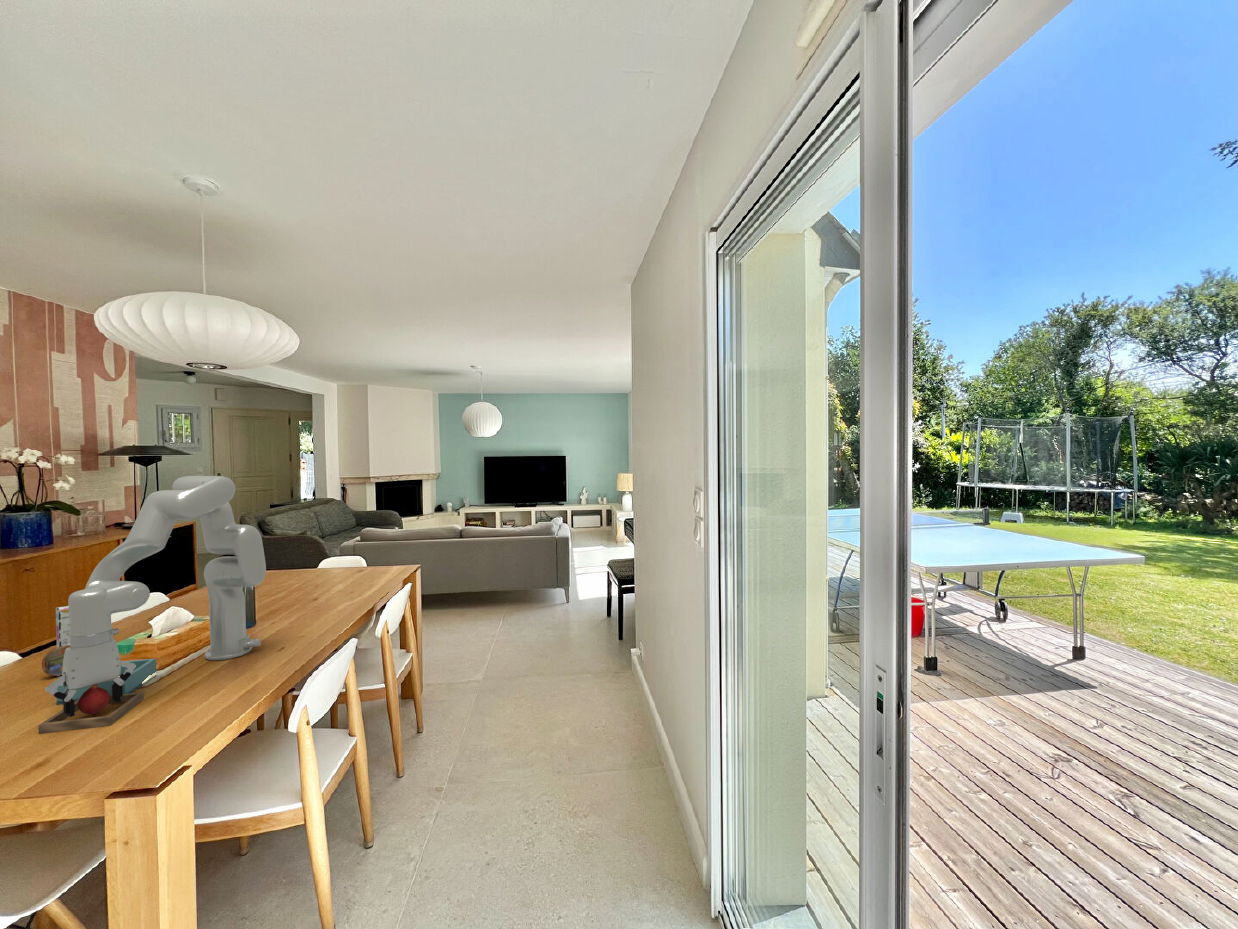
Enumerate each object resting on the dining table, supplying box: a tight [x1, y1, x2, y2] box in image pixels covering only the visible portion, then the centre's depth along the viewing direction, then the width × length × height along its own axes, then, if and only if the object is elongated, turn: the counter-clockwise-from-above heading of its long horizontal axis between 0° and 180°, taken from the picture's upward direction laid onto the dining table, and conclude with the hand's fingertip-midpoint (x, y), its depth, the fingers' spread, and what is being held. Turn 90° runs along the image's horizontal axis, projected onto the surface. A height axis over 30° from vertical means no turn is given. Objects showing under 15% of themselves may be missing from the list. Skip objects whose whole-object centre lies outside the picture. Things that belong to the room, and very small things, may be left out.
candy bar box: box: [55, 605, 70, 648], centre depth 177 cm, size 11×5×16 cm, turn 145°
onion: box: [78, 684, 110, 717], centre depth 137 cm, size 6×6×8 cm
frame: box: [37, 691, 145, 734], centre depth 137 cm, size 14×14×2 cm
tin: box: [41, 644, 70, 677], centre depth 165 cm, size 15×3×8 cm, turn 168°
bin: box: [55, 657, 158, 706], centre depth 152 cm, size 15×15×5 cm
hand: (94, 707), depth 137 cm, fingers open, 8 cm apart
